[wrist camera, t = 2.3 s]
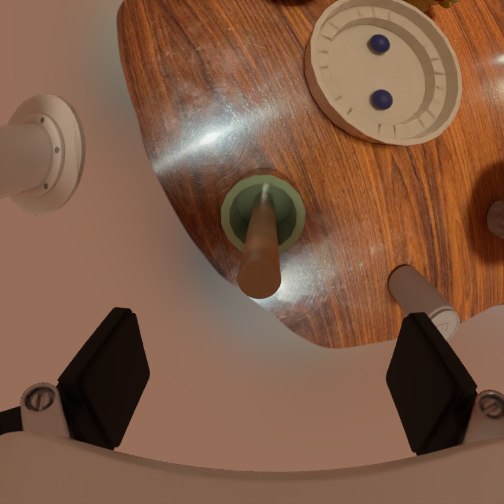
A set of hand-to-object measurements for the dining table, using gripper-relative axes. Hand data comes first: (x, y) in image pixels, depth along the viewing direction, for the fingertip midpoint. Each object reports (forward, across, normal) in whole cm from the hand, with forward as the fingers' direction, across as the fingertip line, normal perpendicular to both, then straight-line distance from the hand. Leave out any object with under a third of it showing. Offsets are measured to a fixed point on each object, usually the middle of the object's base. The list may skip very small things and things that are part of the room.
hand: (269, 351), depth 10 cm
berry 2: (+25, -12, -12) cm, 30 cm away
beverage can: (+27, -18, +10) cm, 34 cm away
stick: (+26, +1, 0) cm, 26 cm away
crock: (+27, +1, 0) cm, 27 cm away
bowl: (+27, -12, -16) cm, 33 cm away
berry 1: (+25, -12, -19) cm, 34 cm away
